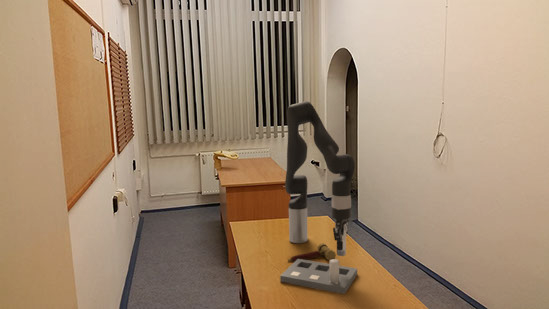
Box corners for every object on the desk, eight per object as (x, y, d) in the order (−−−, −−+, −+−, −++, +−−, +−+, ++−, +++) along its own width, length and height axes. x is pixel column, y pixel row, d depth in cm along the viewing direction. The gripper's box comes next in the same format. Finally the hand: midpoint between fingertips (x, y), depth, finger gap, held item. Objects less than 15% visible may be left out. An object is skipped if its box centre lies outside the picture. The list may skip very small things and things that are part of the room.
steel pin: (338, 251, 163) (338, 227, 162) (346, 253, 162) (347, 229, 160) (335, 255, 160) (335, 230, 159) (344, 256, 159) (344, 231, 157)
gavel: (291, 259, 174) (283, 251, 183) (291, 269, 175) (284, 260, 184) (335, 250, 180) (326, 242, 189) (336, 259, 180) (326, 251, 190)
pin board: (298, 264, 176) (297, 241, 175) (357, 274, 165) (357, 249, 163) (280, 281, 160) (279, 256, 159) (344, 294, 149) (344, 267, 147)
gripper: (337, 200, 166) (337, 240, 169) (326, 209, 154) (326, 252, 156) (355, 202, 163) (355, 243, 165) (345, 211, 150) (345, 255, 153)
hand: (341, 247), depth 161 cm, fingers closed on steel pin, 3 cm apart
